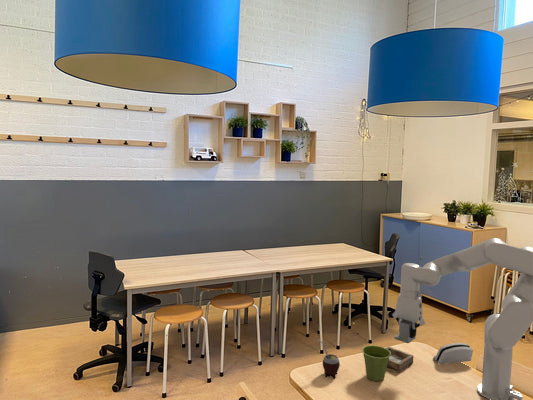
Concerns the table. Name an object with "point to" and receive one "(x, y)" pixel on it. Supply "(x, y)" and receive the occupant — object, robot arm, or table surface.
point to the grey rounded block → (454, 353)
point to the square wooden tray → (399, 360)
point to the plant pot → (376, 361)
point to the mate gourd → (330, 364)
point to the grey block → (405, 332)
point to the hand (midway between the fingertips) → (407, 335)
